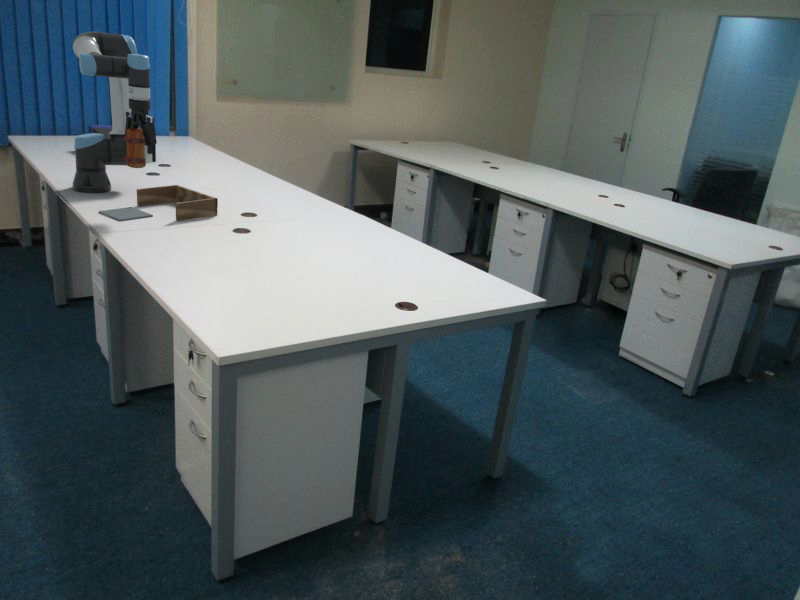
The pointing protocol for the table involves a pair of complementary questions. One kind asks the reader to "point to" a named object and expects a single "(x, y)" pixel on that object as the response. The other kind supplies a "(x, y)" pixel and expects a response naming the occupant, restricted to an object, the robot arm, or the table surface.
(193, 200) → the wooden boards
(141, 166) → the mug
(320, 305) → the table surface
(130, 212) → the rubber mat
